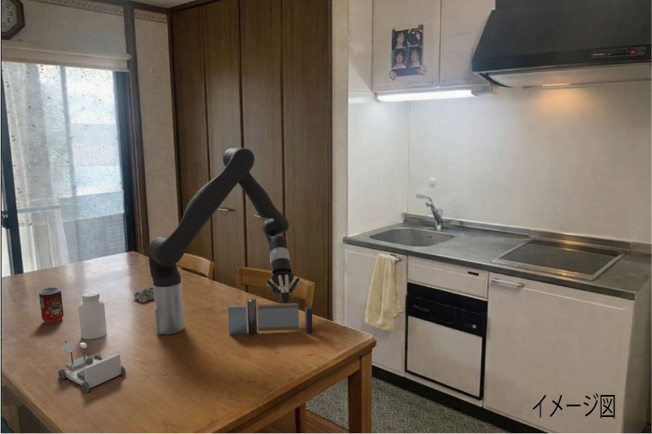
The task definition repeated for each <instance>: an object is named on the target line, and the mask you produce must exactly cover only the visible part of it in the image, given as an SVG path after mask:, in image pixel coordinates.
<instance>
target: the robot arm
mask: <svg viewBox="0 0 652 434" xmlns="http://www.w3.org/2000/svg"><path fill="white" fill-rule="evenodd" d="M255 161H256V160H255V154H254V152H253V151H252V150H250V149H249V148H245V147H230V148H228V149H226V150H225V152H224V153H223V155H222V163H223V165H224V168H223V170H222V171H221V172H220V173H219V174H218V175H216V177H213V179H211V180H210V181H208V182H207V183H206V184H205V185H203V186H202V187H201V188H200V189H198V191H197V192H196V193H195V194H194V195H193V196H192V198H191V199H190V200H189V202H188V203H187V204H186V207H185V210H184V212H183V216H182V217H181V221H180V222H179V224H178V226H177V227H176V228H175V229H174V231H173V232H172V233H171V234H170V235H169V236H168V237H167V236H158V237H156V238H154V239H153V240H152V241H151V242H150V244H149V246H148V265H149V272H150V276H151V278H152V284H153V285H152V287H154V299H153V300H154V315H155V318H154V319H155V329H156V335H174V334H178V333H179V332H182V331H183V330H184V328H185V324H184V323H185V322H184V309H183V308H184V307H183V291H182V276H181V273H180V271H179V269H178V266H177V263H179V262H180V261H181V259H182V258H183V257H184V255H185V254H186V252H187V251H188V249H189V247H190V246H191V244H192V242H193V241H194V239H195V238H196V236H197V235H199V233H200V232H201V230H202V229H203V227H205V225H206V224H207V222H209V220H210V219H211V218H212V217H213V216H214V214H215V213H216V212H217V210H218V209H219V208H220V206H221V205H222V204H223V202H224V201H225V200H226V198H227V197H228V196H229V195H230V193H231V192H232V191H233V189H234V188H235V187H236V186H237V185H240V187H241V188H242V190H243V191H244V194H246V196H247V198H248V199H249V200H250V202H251V204H252V206H253V207H254V210H255V211H256V213H257V214H258V216H259V218H262V219H267V220H265V221H264V222H263V223H262V226H261V227H262V231H263V234H264V235H265V237H266V240H267V244H268V247H269V248H268V249H269V263H270V268H271V269H270V271H271V276H270V277H271V278H270V279H269V280H267V281H266V286H267V287H268V288H269V290H271V291H272V292H273V294H275V295H280V300H281V304H289V303H290V299H291V298H290V294H293V292H294V291H295V290H296V288H297V286H298V285H299V283H300V277H296V276H295V275H294V273H293V270H292V264H291V259H290V258H291V257H290V252H289V250H288V242H287V239H286V237H284V236H282V234H284V233H286V232H288V231H289V228H290V224H289V221H288V219H287V218H286V217H285V216H284V214H282V212H280V211H279V209H278V208H276V206H275V205H274V203H273V201H272V199H271V197H270V195H268V192H267V191H266V190H265V189H264V188H263V186H261V185H260V183H259V182H258V181H257V180H256V179H255V178H254V177H253V175H252V173H251V172H250V171H251V170H252V168H253V167H254V164H255ZM268 218H269V219H268ZM291 283H292V285H291ZM290 285H291V286H290ZM289 286H290V288H289Z"/></svg>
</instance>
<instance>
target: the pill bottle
mask: <svg viewBox="0 0 652 434" xmlns="http://www.w3.org/2000/svg"><path fill="white" fill-rule="evenodd" d="M78 316H79V326H80V327H79V328H80V335H81V338H82V340H83V339H84V340H97V339H101V338H103V337H104V336H105V335H107V321H106V320H107V318H106V308H105V303H104V301H103V299H100V291H99V292H98V291H88V292H84V293H82V295H81V302H80V303H79V305H78Z"/></svg>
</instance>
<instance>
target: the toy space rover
mask: <svg viewBox="0 0 652 434" xmlns="http://www.w3.org/2000/svg"><path fill="white" fill-rule="evenodd" d="M64 342H65V343H64V344H62V345H61V346H60V348H59V349H60V350H61V351H63V352H64V353H68V354H70V358H71V361H69V362H67V363H65V364H64V365H65V368H67V369H68V370H65V369H63V368H61V369H59V370H58V372H57V374H58V378H60V379H61V380H65V379H68V380H71V381H72V382H75V383H76V384H78V385H80V388H81V391H82V392H83V393H85V394H87V393H89V392H90V390H91V388H94V387H96V386H98V385H100V384H102V383H105V382H107V381H109V380H111V379H114V378H115V377H116V378H117V377H118V376H119V375H120V376H121V377H125V376H126V375H127V371H126V368H125V367H124V366H123V365H122V364H121V363H122V362H121V361H122V360H121V354H120V353H116V354H114V355H111V356H108V357H106V358H104V359H102V356H101V355H100V354H96V355H94V359H93V358H91V357H89V356H87V355H86V352H85V348H88V346H87V345H88V344H87V343H86V342H84V341H83V342H80V343H79V347H81V348H82V353H83V354H82V355H83V356H82V357H79V358H77V359H74V357H73V356H74V355H73V352H74V350H75V344H76V342H75V340H70V341H68V342H67V340H64Z"/></svg>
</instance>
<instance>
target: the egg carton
mask: <svg viewBox="0 0 652 434" xmlns="http://www.w3.org/2000/svg"><path fill="white" fill-rule="evenodd" d="M132 295H133V296H134V301H139V303H145V302H146V303H147V301H153V300H154V287H153V286H151V287H148V288H144V289H141V290H136V291H134V292H133V293H132ZM150 299H151V300H150ZM152 299H153V300H152Z"/></svg>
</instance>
